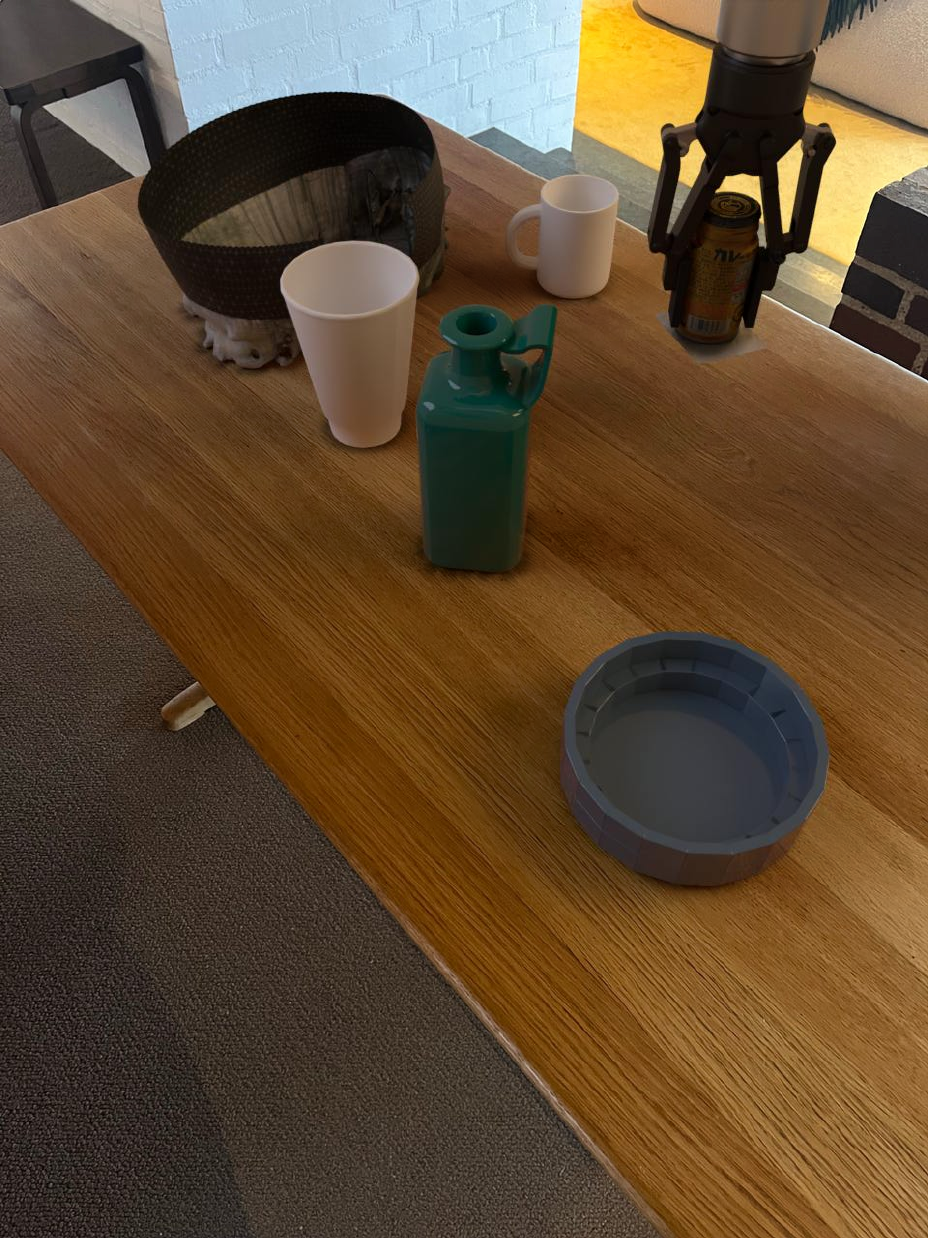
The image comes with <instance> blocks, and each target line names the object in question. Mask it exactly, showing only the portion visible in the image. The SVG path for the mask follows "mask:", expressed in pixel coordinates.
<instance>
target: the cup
mask: <svg viewBox="0 0 928 1238" xmlns="http://www.w3.org/2000/svg"><path fill="white" fill-rule="evenodd" d="M419 279H420V278H419V274H418V269H417V267H416V265H415V264H414V263H413V261H412V260H411V259H410V257H408V256H407V255H405V254H404V253H402V252H401V251H400V250H397V249H395V248H392V247H390V246H387V245H384V244H379V243H374V242H367V241H345V242H335V243H331V244H326V245H322V246H319V247H316V248H314V249H311V250H309V251H306V252H304V253H303V254H301V255H300V256H298V257H297V258H295V259H293V261H292V262H291V263H290V264H289V265H288V266H287V267H286V268H285V270H284V272H283V274H282V277H281V279H280V283H281V292H282V294H283V296H284V298H285V301H286V304H287V307H288V310H289V313H290V316H291V319H292V322H293V325H294V328H295V331H296V334H297V337H298V340H299V343H300V346H301V349H302V351H301V352H302V355H303V358H304V361H305V365H306V367H307V369H308V373H309V376H310V379H311V382H312V384H313V388H314V391H315V393H316V397H317V401H318V403H319V406H320V409H321V411H322V413H323V415H324V417H325V418H326V419H327V420H328V425H329V428H330V431H331V433H332V435H333V437H334V438H335V439H337V441H339V442H340V443H342V444H344V445H346V446H349V447H354V448H362V449H363V448H364V449H366V448H374V447H377V446H382V445H383V444H386V443H388V442H391V440H392V439H394V438H395V437H396V436H397V435H398V433H399V432H400V430H401V426H402V415H403V414H402V413H403V411H404V410H405V406H406V402H407V393H408V383H409V374H410V363H411V355H412V345H413V336H414V335H413V334H414V326H415V325H414V324H415V315H416V307H417V299H416V297H417V287H418V283H419Z"/></svg>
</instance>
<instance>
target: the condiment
mask: <svg viewBox="0 0 928 1238" xmlns="http://www.w3.org/2000/svg"><path fill="white" fill-rule="evenodd" d="M762 215H763V211H762V204H761V203H759V201H758V200H757V199H756V198H754V197H752V196H750V195H748V194H746V193H742V192H739V191H727V190H726V191H724V190H723V191H716V192H715V194H714V196H713V198H712V200H711V202H710V204H709V206H708V208H707V210H706V212H705V213H704V215H703V217H702V219H701V221H700V223H699V225H698V227H697V229H696V231H695V233H694V235H693V237H692V239H691V241H690V243H689V245H688V247H687V248H688V253H689V258H690V267H689V273H688V278H687V284H686V290H685V296H684V301H683V307H682V313H681V318H680V324H679V328H671V327H670V321H669V314H668V311H665V312H661V313H656V314H654V317H655V318H656V320H658V322H659V323H660V324H661V326H662V327H663V328H665V330H666V331H667V333H668V334H669V335H671V337H672V338H673V339H674V340H675V341H676V342H677V343H678V344H680V346H681V347H682V348H683V350H684V351H685V352H686V353H687V354H688V355H689V356H690V357H691V358H692V359H693V360H694V361H695V363H697V365H700V364H704V363H711V362H717V361H720V360H726V359H730V358H733V357H740V356H742V355H744V354H745V355H746V354H748V353H754V352H757V351H760V350H764V349H766V348H769V346H767V345H766V344H765V342H764V341H763V340H762V339H761V338H759V336H758V335H757V334H756V333H755V332H754V331H753V330H752V328H745V326H744V321H743V317H742V314H743V312H744V307H745V303H746V297H747V295H748V291H749V285H750V281H751V279H752V273H753V269H754V265H755V262H756V256H757V252H758V249H759V246H760V239H759V234H758V232H759V230H760V220H761V219H762Z"/></svg>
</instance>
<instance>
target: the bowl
mask: <svg viewBox="0 0 928 1238" xmlns="http://www.w3.org/2000/svg"><path fill="white" fill-rule="evenodd" d="M558 748H559V749H558V751H559V756H558V757H559V780H560V785H561V788H562V790H563V792H564V794H565V798H566V800H567V803H568V805H569V808H570V810H571V813H572V815H573V817H574V818H575V819H576V821H577V822H578V823H579V824H580V826H581V827H582V828H583V829H584V830H585V832H586V833H587V834H588V835H589V837H590V838H591V839H592V841H593V842H594V843H595V844H596V845H597V846H598V847H599V848H600V849H602V850H603V851H604V852H606V853H607V854H609V855H610V856H612V857H613V858H615V859H617V860H618V861H619V862H621V863H622V864H623V865H625V866H626V867H628V868H629V869H630V870H633V871H634V872H637V873H639V874H642V875H646V876H649V877H652V878H655V879H658V880H661V881H664V882H665V883H670V884H673V885H675V886H676V885H679V886H704V887H705V886H706V887H718V886H722V885H727V884H729V883H733V882H737V881H740V880H743V879H747V878H751V877H754V876H758V875H759V874H761V873H762V872H764V871H765V870H766V869H768V868H769V867H770V866H772V865H774V863H776V862H777V861H779V860H780V859H782V858H783V857H785V856H786V855H787V854H788V853H789V852H790V850H791V848H792V847H793V845H794V843H795V842H796V841H797V838H798V837H799V835H800V834H801V833H802V830H803V829H804V828H805V826H806V824H807V823H808V821H809V819H810V817H811V816H812V814H813V812H814V810H815V809H816V807H817V805H818V803H819V801H820V800H821V798H822V797H823V795H824V793H825V791H826V786H827V779H828V773H829V772H828V771H829V768H830V767H829V766H830V761H831V754H830V753H831V752H830V749H829V744H828V740H827V736H826V732H825V727H824V722H823V721H822V718H821V716H820V714H819V713H818V711H817V710H816V708H815V707H814V705H813V703H812V702H811V700H810V698H809V696H808V695H807V692H805V690H804V688H803V686H801V684H799V683H798V682H797V681H796V680H795V679H794V678H793V677H791V676H790V675H789V674H788V673H787V672H786V671H785V670H784V669H783V668H782V667H781V666H779V664H777V662H775V661H774V660H772V659H770V658H769V657H766V656H765V655H764V654H761V653H759V652H757V651H756V650H754V649H752V648H750V647H748V646H747V645H744V644H743V643H741V642H739V641H735V640H733V639H732V640H731V639H728V638H724V637H721V636H717V635H713V634H710V633H705V632H701V631H699V632H698V631H670V630H669V631H668V630H663V631H657V632H652V633H649V634H643V635H639V636H635V637H631V638H630V637H629V638H627V639H625V640H623V641H622V642H620V643H618V644H616V645H615V646H613V647H611V648H609V649H608V650H606V651H604V652H602V653H601V654H599V655H598V656H596V657H595V658H594V660H593V661H592V662H591V663H590V664H589V665H588V666H587V668H585V670H584V671H583V672H582V673H581V674H580V675H579V676H578V678H577V679H576V680H575V682H574V683H573V687H572V689H571V692H570V694H569V697H568V700H567V703H566V705H565V708H564V710H563V718H562V724H561V733H560V740H559V747H558Z"/></svg>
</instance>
